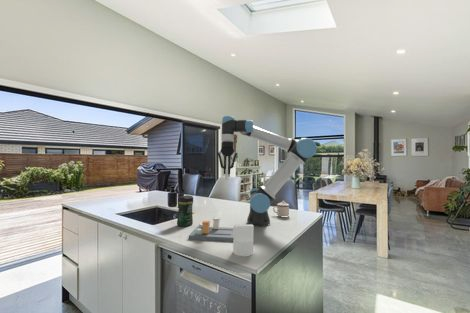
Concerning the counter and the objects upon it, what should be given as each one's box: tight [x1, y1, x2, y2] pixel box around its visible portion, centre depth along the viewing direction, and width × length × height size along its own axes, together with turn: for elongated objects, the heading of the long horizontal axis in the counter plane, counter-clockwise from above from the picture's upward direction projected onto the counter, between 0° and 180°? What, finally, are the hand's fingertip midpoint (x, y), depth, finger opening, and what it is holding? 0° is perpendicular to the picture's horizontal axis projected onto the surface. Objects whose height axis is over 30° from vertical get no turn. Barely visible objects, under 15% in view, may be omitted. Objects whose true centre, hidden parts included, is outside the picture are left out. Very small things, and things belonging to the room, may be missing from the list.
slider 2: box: [212, 216, 221, 229], centre depth 135 cm, size 3×3×6 cm
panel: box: [188, 225, 234, 243], centre depth 131 cm, size 24×18×4 cm
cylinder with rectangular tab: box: [232, 223, 255, 257], centre depth 107 cm, size 9×9×12 cm
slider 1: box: [201, 220, 211, 234], centre depth 127 cm, size 3×3×6 cm
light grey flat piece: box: [198, 220, 211, 228], centre depth 136 cm, size 5×7×1 cm
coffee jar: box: [176, 194, 194, 228], centre depth 150 cm, size 10×8×19 cm
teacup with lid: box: [272, 200, 290, 217], centre depth 179 cm, size 12×9×12 cm
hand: (226, 179), depth 147 cm, fingers closed
